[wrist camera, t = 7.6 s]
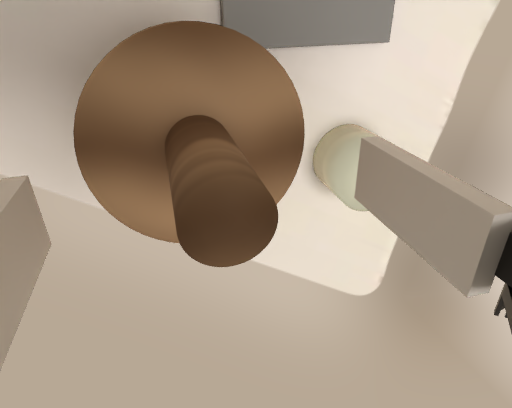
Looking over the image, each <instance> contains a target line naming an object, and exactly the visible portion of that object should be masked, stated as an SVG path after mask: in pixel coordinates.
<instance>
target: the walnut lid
mask: <svg viewBox="0 0 512 408" xmlns="http://www.w3.org/2000/svg"><path fill="white" fill-rule="evenodd" d="M303 146H304V118H303V112H302V107H301V104H300V100H299V97H298V94H297V92H296V89H295V87H294V85H293V83H292V81H291V79H290V78H289V76H288V74H287V73H286V71H285V70H284V68H283V67H282V66H281V65H280V63H279V62H278V61H277V60H276V59H275V57H274V56H273V55H271V54H270V53H269V52H268V51H267V50H266V49H265V48H264V47H263V46H261V45H260V44H258V43H257V42H255V41H254V40H252V39H251V38H250V37H248V36H246V35H244V34H242V33H239V32H237V31H235V30H233V29H230V28H227V27H224V26H221V25H217V24H211V23H205V22H199V21H177V22H169V23H163V24H159V25H156V26H152V27H149V28H147V29H144V30H142V31H140V32H137V33H135V34H133V35H132V36H130V37H129V38H127V39H125V40H124V41H122V42H121V43H119V44H118V45H117V46H116V47H115V48H114V49H112V50H111V51H110V52H109V53H108V54H107V55H106V56H105V57H104V58H103V59H102V61H101V62H100V63H99V64H98V65H97V67H96V68H95V69H94V70H93V72H92V74H91V75H90V77H89V79H88V80H87V82H86V84H85V86H84V88H83V91H82V93H81V95H80V98H79V101H78V105H77V109H76V113H75V121H74V147H75V152H76V157H77V161H78V165H79V167H80V170H81V173H82V176H83V178H84V180H85V182H86V183H87V185H88V187H89V189H90V191H91V192H92V193H93V195H94V196H95V198H96V199H97V200H98V202H99V203H100V204H101V205H102V206H103V207H104V208H105V209H106V210H107V211H108V212H109V213H110V214H111V215H112V216H114V217H115V218H116V219H117V220H118V221H120V222H121V223H123V224H124V225H126V226H128V227H129V228H131V229H133V230H135V231H137V232H139V233H141V234H143V235H146V236H149V237H152V238H155V239H158V240H163V241H167V242H174V243H180V245H181V246H182V248H183V250H184V251H185V252H186V253H187V254H188V255H189V256H190V257H191V258H193V259H194V260H196V261H198V262H200V263H202V264H205V265H209V266H214V267H229V266H234V265H238V264H241V263H244V262H246V261H248V260H250V259H252V258H253V257H255V256H256V255H258V254H259V253H260V252H261V251H262V250H263V249H265V247H266V246H267V245H268V244H269V242H270V241H271V239H272V238H273V236H274V234H275V231H276V228H277V223H278V210H277V206H276V205H277V203H278V202H279V201H280V200H281V198H282V197H283V196H284V194H285V193H286V191H287V190H288V188H289V187H290V185H291V183H292V181H293V179H294V177H295V175H296V173H297V170H298V167H299V164H300V161H301V156H302V152H303Z"/></svg>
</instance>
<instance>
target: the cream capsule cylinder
mask: <svg viewBox="0 0 512 408" xmlns="http://www.w3.org/2000/svg"><path fill="white" fill-rule="evenodd" d="M374 136H378V135H376V134H374V133H372V132H370V131H368V130H366V129H364V128H363V127H360V126H358V125H354V124H345V125H341V126H338V127H336V128H334V129H332V130H331V131H329V132H328V133H327V134H326V135H325V136H324V137H323V138H322V139H321V140H320V142H319V143H318V145H317V147H316V150H315V152H314V157H313V167H314V171H315V174H316V176H317V177H318V179H319V180H320V181H321V182H322V183H323V184H324V185H325V186H326V187H328V188H329V189H330V190H331V191H332V192H333V193H334V194H335V195H336V196H337V197H338V198H339V199H340V200H341V201H342V202H343V203H344V204H345V205H346V206H348V207H349V208H351V209H353V210H356V211H369V210H367V209H366V208H365V207H364V206H363V205H362V204H361V203H360V202H358V201H357V200H356V199H355V198H354V195H355V186H356V178H357V170H358V161H359V153H360V145H361V138H365V137H374ZM384 140H385V139H384ZM386 141H387V140H386ZM388 142H389V141H388ZM390 143H391V142H390ZM392 144H393V143H392ZM394 145H395V144H394Z"/></svg>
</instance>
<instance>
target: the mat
mask: <svg viewBox="0 0 512 408" xmlns="http://www.w3.org/2000/svg"><path fill="white" fill-rule="evenodd" d="M394 4H395V0H221V13H222V26H224V27H227V28H230V29H233V30H235V31H237V32H239V33H242V34H244V35H246V36H248V37H250V38H251V39H252V40H254V41H255V42H257V43H258V44H260V45H261V46H263V47H264V48H283V47H304V46H324V45H344V44H364V43H385V42H389V40H390V33H391V26H392V18H393V11H394Z"/></svg>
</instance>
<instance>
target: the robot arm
mask: <svg viewBox="0 0 512 408" xmlns="http://www.w3.org/2000/svg"><path fill="white" fill-rule="evenodd" d="M354 198H355V199H356V200H357V201H358V202H360V203H361V204H362V205H363V206H364V207H365V208H366V209H367V210H369V211H370V212H371V213H372V214H373V215H374V216H375V217H376V218H378V219H379V220H380V221H381V222H382V223H383V224H384V225H385V226H387V227H388V228H389V229H390V230H391V231H392V232H393V233H395V234H396V235H397V236H398V237H399V238H400V239H401V240H402V241H404V242H405V243H406V244H407V245H408V246H409V247H410V248H411V249H413V250H414V251H415V252H416V253H417V254H418V255H419V256H420V257H422V258H423V259H424V260H425V261H426V262H427V263H428V264H429V265H431V266H432V267H433V268H434V269H435V270H436V271H437V272H439V273H440V274H441V275H442V276H443V277H444V278H445V279H446V280H448V281H449V282H450V283H451V284H452V285H453V286H454V287H456V288H457V289H458V290H459V291H460V292H461V293H462V294H463V295H464V296H466V297H467V298H468V297H472V296H477V295H481V294H485V293H489V291H490V288H491V285H492V283H493V280H494V277H495V275H496V276H497V277H498V278H500V279H501V280H502V281H504V282H505V285H504V287H503V290H502V292H501V295H500V297H499V300H498V302H497V305H496V307H495V310H494V315H497V316H498V315H499V313H500V311H501V310H502V309H504V308H505V310H506V315H505V317H506V318H508V321H509V325H510V329H511V333H512V207H511V206H509V205H507V204H505V203H503V202H502V201H500V200H498V199H496V198H494V197H492V196H490V195H488V194H487V193H484V192H483V191H481V190H479V189H477V188H475V187H473V186H471V185H469V184H467V183H465V182H463V181H462V180H460V179H458V178H456V177H454V176H452V175H450V174H449V173H447V172H445V171H443V170H441V169H439V168H437V167H435V166H433V165H432V164H430V163H428V162H426V161H424V160H422V159H420V158H418V157H416V156H415V155H413V154H411V153H409V152H407V151H405V150H403V149H401V148H400V147H398V146H396V145H394V144H392V143H390V142H388V141H386V140H384V139H383V138H381V137H379V136H374V137H365V138H361V145H360V153H359V161H358V170H357V178H356V186H355V195H354ZM50 246H51V241H50V238H49V235H48V232H47V229H46V227H45V224H44V221H43V218H42V215H41V212H40V209H39V206H38V204H37V201H36V198H35V195H34V192H33V189H32V186H31V183H30V181H29V178H28V176H20V177H11V178H2V179H1V180H0V370H1V368H2V365H3V363H4V360H5V358H6V356H7V353H8V351H9V348H10V345H11V343H12V340H13V338H14V336H15V333H16V331H17V328H18V326H19V323H20V321H21V318H22V316H23V313H24V310H25V308H26V306H27V303H28V301H29V298H30V296H31V294H32V291H33V289H34V286H35V283H36V281H37V279H38V276H39V274H40V271H41V269H42V266H43V264H44V261H45V259H46V256H47V254H48V251H49V249H50Z"/></svg>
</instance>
